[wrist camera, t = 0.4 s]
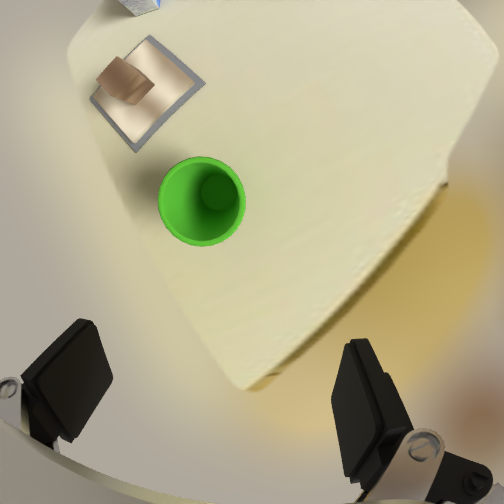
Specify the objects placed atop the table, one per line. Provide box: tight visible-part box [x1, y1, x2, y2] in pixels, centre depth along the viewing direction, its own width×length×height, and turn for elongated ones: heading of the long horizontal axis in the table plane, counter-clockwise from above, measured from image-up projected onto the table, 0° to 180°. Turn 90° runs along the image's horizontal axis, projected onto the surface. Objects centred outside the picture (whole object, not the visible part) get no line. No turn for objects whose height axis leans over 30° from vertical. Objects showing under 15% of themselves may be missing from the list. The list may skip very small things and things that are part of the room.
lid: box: [93, 40, 195, 143], centre depth 28 cm, size 12×12×8 cm
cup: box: [158, 157, 245, 247], centre depth 31 cm, size 9×9×11 cm
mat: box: [90, 35, 206, 153], centre depth 32 cm, size 14×14×1 cm
